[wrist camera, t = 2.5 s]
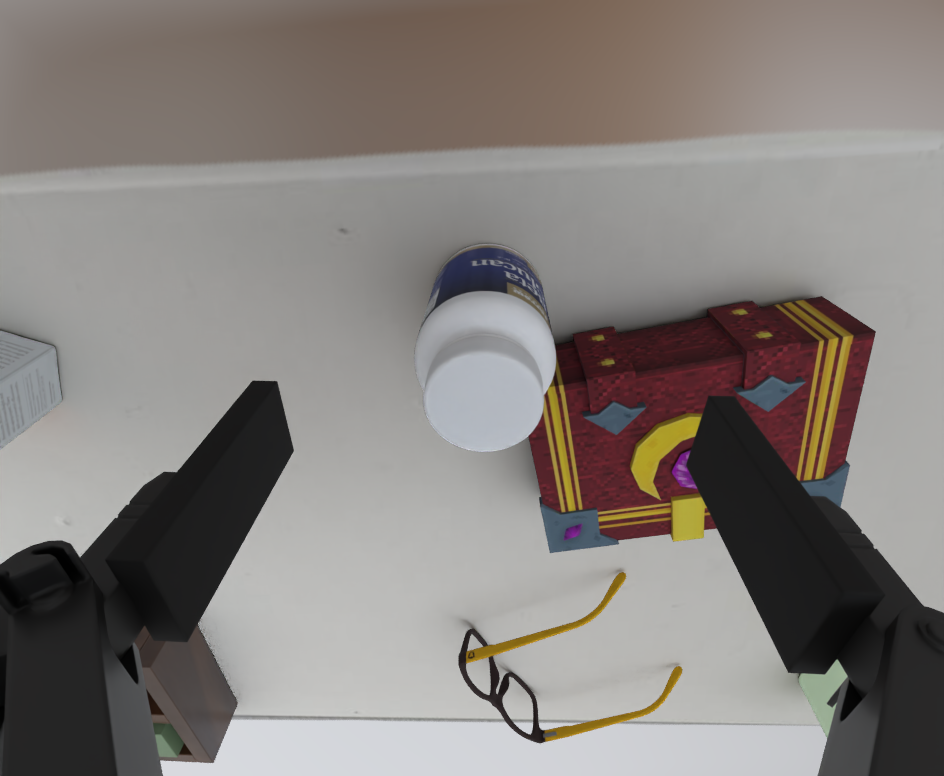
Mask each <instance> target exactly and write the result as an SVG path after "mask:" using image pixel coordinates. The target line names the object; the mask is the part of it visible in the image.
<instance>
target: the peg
mask: <svg viewBox="0 0 944 776" xmlns="http://www.w3.org/2000/svg"><path fill="white" fill-rule="evenodd" d="M153 727H154V732H155V738H156V743H157V748H158V753H159V757H178V755H179V753H180V751H181V749H182V747H183V744H184V742H183V740H182V739H181V738H180V736H179V735H178V733H177V732H176V730H175V729H174V728H173V726H172V725H171V723H170V724H164V723H153Z"/></svg>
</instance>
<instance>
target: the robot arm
mask: <svg viewBox="0 0 944 776" xmlns="http://www.w3.org/2000/svg"><path fill="white" fill-rule="evenodd" d="M293 451H294V449H293V445H292V441H291V437H290V433H289V429H288V424H287V420H286V416H285V412H284V408H283V404H282V400H281V395H280V391H279V387H278V383H277V381H252V382H251V383H250V385H249V386H248V387H247V388H246V389H245V391H244V392H243V393H242V394H241V395H240V397H239V398H238V399H237V400H236V401H235V403H234V404H233V405H232V406H231V408H230V409H229V410H228V411H227V412H226V414H225V415H224V416H223V417H222V418H221V420H220V421H219V422H218V423H217V424H216V426H215V427H214V428H213V429H212V431H211V432H210V433H209V434H208V435H207V437H206V438H205V439H204V440H203V441H202V443H201V444H200V445H199V446H198V447H197V449H196V450H195V451H194V452H193V454H192V455H191V456H190V457H189V458H188V460H187V461H186V462H185V463H184V464H183V466H182V467H181V468H180V469H179V470H178V472H163V473H161V474H160V475H159V476H157V477H156V478H154V479H153V480H151V481H150V482H148V483H147V484H145V485H144V486H143V487H142V488H141V489H140V490H139V492H138V493H137V494H136V495H135V496H134V497H133V498H132V499H131V501H130V504H129V505H126V506H125V507H124V509H123V510H122V511H121V512H120V513H119V514H118V518H115V519H114V520H113V521H112V522H111V523H110V524H109V526H108V527H107V528H106V529H105V530H104V531H103V532H102V534H101V535H100V536H99V537H98V538H97V539H96V540H95V541H94V543H93V544H92V545H91V546H90V547H89V548H88V549H87V551H86V552H85V553H84V554H83V555H82V556H81V557H79V556H78V554H77V553H76V551H75V549H74V548H73V546H72V545H71V544H70V543H67V542H64V541H47V542H43V543H40V544H36V545H33V546H30V547H28V548H26V549H24V550H22V551H20V552H18V553H16V554H14V555H13V556H12V557H10V558H9V559H7V560H6V561H5V562H3V563H2V564H0V776H163V774H162V769H161V764H160V759H159V753H158V748H157V743H156V738H155V732H154V727H153V722H152V717H151V711H150V706H149V701H148V696H147V691H146V685H145V680H144V675H143V670H142V664H141V659H140V654H139V649H138V648H137V646H136V644H135V642H134V641H135V639H136V638H137V636H138V635H139V633H140V632H141V630H142V629H143V627H144V626H145V627H146V629H147V630H148V632H149V634H150V635H151V637H152V639H153V640H154V641H170V642H188V640H189V639H190V637H191V635H192V633H193V631H194V630H195V628H196V626H197V624H198V622H199V621H200V619H201V617H202V615H203V613H204V612H205V610H206V608H207V606H208V604H209V603H210V601H211V599H212V597H213V595H214V594H215V592H216V590H217V588H218V586H219V585H220V583H221V581H222V579H223V577H224V576H225V574H226V572H227V570H228V568H229V567H230V565H231V563H232V561H233V559H234V558H235V556H236V554H237V552H238V550H239V549H240V547H241V545H242V543H243V541H244V540H245V538H246V536H247V534H248V532H249V531H250V529H251V527H252V525H253V523H254V522H255V520H256V518H257V516H258V514H259V513H260V511H261V509H262V507H263V505H264V504H265V502H266V500H267V498H268V496H269V495H270V493H271V491H272V489H273V487H274V486H275V484H276V482H277V480H278V478H279V477H280V475H281V473H282V471H283V469H284V468H285V466H286V464H287V462H288V460H289V459H290V457H291V455H292V453H293ZM686 467H687V469H688V471H689V473H690V475H691V477H692V479H693V481H694V483H695V485H696V487H697V489H698V491H699V493H700V495H701V497H702V499H703V501H704V503H705V505H706V507H707V509H708V511H709V513H710V515H711V517H712V519H713V521H714V523H715V525H716V527H717V529H718V531H719V533H720V535H721V537H722V539H723V541H724V544H725V546H726V548H727V550H728V552H729V554H730V556H731V558H732V560H733V562H734V564H735V566H736V568H737V570H738V572H739V574H740V576H741V578H742V580H743V582H744V584H745V586H746V588H747V590H748V592H749V594H750V596H751V598H752V600H753V602H754V604H755V606H756V608H757V610H758V612H759V614H760V616H761V618H762V620H763V622H764V624H765V626H766V628H767V630H768V632H769V634H770V636H771V638H772V640H773V643H774V645H775V647H776V649H777V651H778V653H779V655H780V657H781V659H782V661H783V663H784V665H785V667H786V669H787V671H788V673H804V674H824V675H825V674H826V673H827V671H828V670H829V669H830V667H831V666H832V665H833V663H834V662H835V661H836V660H837V659H838V661H839V662H840V664H841V666H842V668H843V669H844V671H845V673H846V674H847V676H848V677H847V678H846V679H845V680H844V682H843V683H842V684H841V685H840V687H839V688H838V689H837V690H836V691H835V693H834V694H833V695H832V696H831V698H830V699H829V701H828V702H827V705H829V706H830V707H832V708H833V706H834V705H835V704H836V703H837V704H836V708H835V711H834V715H833V719H832V723H831V727H830V731H829V734H828V738H827V742H826V746H825V750H824V754H823V758H822V762H821V766H820V769H819V773H818V776H944V613H942V612H940V611H937V610H935V609H932V608H929V607H924V606H923V605H922V604H921V603H920V601H919V600H918V599H917V598H916V597H915V595H914V594H913V593H912V592H911V590H910V589H909V588H908V587H907V585H906V584H905V583H904V582H903V581H902V579H901V578H900V577H899V576H898V574H897V573H896V572H895V571H894V570H893V568H892V567H891V566H890V565H889V563H888V562H887V561H886V560H885V559H884V557H883V556H882V555H881V554H880V552H879V551H878V550H877V549H874V548H873V546H874V545H873V544H872V543H871V541H870V540H869V539H868V538H867V537H866V535H865V534H862V533H861V529H860V528H859V527H858V525H857V524H856V523H855V522H854V521H853V519H852V518H851V517H850V516H849V514H848V513H847V512H846V511H844V510H843V509H842V508H840V507H839V506H838V505H836V504H835V503H834V502H832V501H831V500H830V499H828V498H827V497H826V496H810V495H809V494H808V492H807V491H806V490H805V488H804V487H803V486H802V484H801V483H800V482H799V480H798V479H797V478H796V477H795V475H794V474H793V473H792V471H791V470H790V469H789V467H788V466H787V465H786V463H785V462H784V461H783V459H782V458H781V457H780V455H779V454H778V453H777V452H776V450H775V449H774V448H773V446H772V445H771V444H770V442H769V441H768V440H767V438H766V437H765V436H764V434H763V433H762V432H761V430H760V429H759V428H758V427H757V425H756V424H755V423H754V421H753V420H752V419H751V417H750V416H749V415H748V413H747V412H746V411H745V409H744V408H743V407H742V406H741V404H740V403H739V402H738V400H737V399H736V398H735V396H708V399H707V402H706V405H705V408H704V411H703V414H702V417H701V420H700V423H699V426H698V429H697V432H696V436H695V439H694V442H693V445H692V448H691V451H690V454H689V457H688V460H687V463H686Z"/></svg>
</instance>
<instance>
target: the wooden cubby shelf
mask: <svg viewBox="0 0 944 776" xmlns="http://www.w3.org/2000/svg"><path fill="white" fill-rule="evenodd" d="M134 642H135V644H136V646H137V648H138V649H139V654H140V659H141V664H142V670H143V675H144V680H145V685H146V691H147V696H148V701H149V706H150V711H151V717H152V722H153V723H164V724H170V723H171V725H172V726H173V728H174V729H175V730H176V732H177V733H178V735H179V736H180V738H181V739H182V740H183V742H184V744H183V747H182V749H181V751H180V753H179V755H178V757H159V759H160V760H164V761H184V762H204V763H213V762H214V760H215V758H216V755H217V753H218V750H219V748H220V746H221V743H222V741H223V738H224V736H225V733H226V731H227V729H228V726H229V724H230V721H231V719H232V716H233V714H234V711H235V709H236V707H237V704H238V703H237V701H236V699H235V698H234V696H233V694H232V692H231V690H230V688H229V686H228V684H227V682H226V680H225V678H224V676H223V674H222V672H221V670H220V668H219V666H218V665H217V663H216V661H215V659H214V657H213V655H212V653H211V651H210V649H209V647H208V645H207V643H206V641H205V639H204V637H203V635H202V633H201V632H200V630H199V628H198V626H196V628H195V630H194V631H193V633H192V635H191V637H190V639H189V640H188V642H170V641H154V640H153V639H152V637H151V635H150V634H149V632H148V630H147V629H146V627H145V626H144V627H143V629H142V630H141V632H140V633H139V635H138V636H137V638H136V639H135V641H134Z"/></svg>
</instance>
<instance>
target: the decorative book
mask: <svg viewBox="0 0 944 776" xmlns="http://www.w3.org/2000/svg"><path fill="white" fill-rule="evenodd" d="M875 333H876V331H874V330H873V329H871V328H869V327H868V326H866V325H865V324H863V323H862V322H860V321H859V320H857V319H856V318H854V317H853V316H851V315H850V314H848V313H847V312H845V311H844V310H842V309H840V308H839V307H837V306H836V305H834V304H833V303H831V302H830V301H828V300H827V299H825V298H824V297H822V296H821V297H816V298H810V299H805V300H799V301H794V302H788V303H783V304H777V305H772V306H767V307H761V308H760V307H759V306H758V305H756V304H755V303H754V302H753V301H749V302H743V303H738V304H733V305H727V306H722V307H717V308H711V309H708V315H707V318H701V319H696V320H690V321H685V322H679V323H674V324H669V325H663V326H658V327H652V328H647V329H641V330H636V331H630V332H625V333H620V334H617V332H616V330H615V328H614V327H609V328H604V329H598V330H593V331H588V332H582V333H577V334H573V340H574V342H571V343H565V344H560V345H555V350H556V367H555V373H554V376H553V379H552V382H551V384H550V386H549V388H548V390H547V391H546V393H545V394H544V408H543V413H542V416H541V419H540V421H539V423H538V425H537V426H536V427H535V429H534V430H533V432H532V433H531V434H530V435H529V440H530V445H531V450H532V455H533V459H534V464H535V469H536V473H537V478H538V483H539V488H540V492H541V497H539V500H540V507H541V512H542V517H543V521H544V526H545V531H546V536H547V541H548V546H549V550H550V553H554V552H561V551H569V550H577V549H585V548H593V547H601V546H609V545H616V544H619V543H618V540H624V539H633V538H641V537H649V536H658V535H666V534H670V535H671V537H672V540H673V542H674V541H682V540H691V539H700V538H704V530H708V529H716V528H717V527H716V525H715V523H714V521H713V519H712V517H711V515H710V513H709V511H708V509H707V507H706V505H705V503H704V501H703V499H702V497H701V495H700V493H699V491H698V489H697V487H696V485H695V483H694V481H693V479H692V477H691V475H690V473H689V471H688V469H687V467H686V463H687V460H688V457H689V454H690V451H691V448H692V445H693V442H694V439H695V436H696V432H697V429H698V426H699V423H700V420H701V417H702V414H703V411H704V408H705V405H706V402H707V399H708V396H735V398H736V399H737V400H738V402H739V403H740V404H741V406H742V407H743V408H744V409H745V411H746V412H747V413H748V415H749V416H750V417H751V419H752V420H753V421H754V423H755V424H756V425H757V427H758V428H759V429H760V430H761V432H762V433H763V434H764V436H765V437H766V438H767V440H768V441H769V442H770V444H771V445H772V446H773V448H774V449H775V450H776V452H777V453H778V454H779V455H780V457H781V458H782V459H783V461H784V462H785V463H786V465H787V466H788V467H789V469H790V470H791V471H792V473H793V474H794V475H795V477H796V478H797V479H798V480H799V482H800V483H801V484H802V486H803V487H804V488H805V490H806V491H807V492H808V494H809V495H810V496H826V497H827V498H828V499H830V500H831V501H832V502H834V503H835V504H836V505H838V506H839V507H841V502H842V498H843V493H844V489H845V485H846V480H847V476H848V472H849V467H850V465H849V464H848V463H847V461H846V456H847V451H848V447H849V443H850V439H851V434H852V430H853V426H854V422H855V418H856V413H857V409H858V405H859V401H860V396H861V392H862V388H863V384H864V379H865V375H866V371H867V367H868V362H869V358H870V354H871V350H872V345H873V341H874V337H875Z"/></svg>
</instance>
